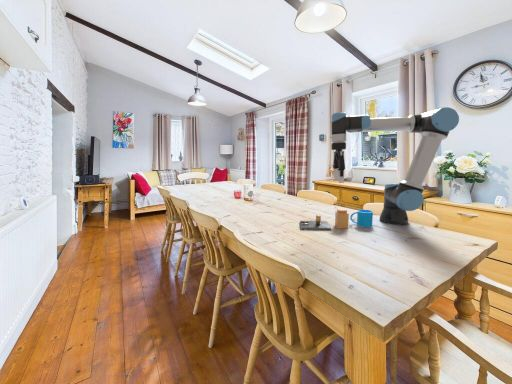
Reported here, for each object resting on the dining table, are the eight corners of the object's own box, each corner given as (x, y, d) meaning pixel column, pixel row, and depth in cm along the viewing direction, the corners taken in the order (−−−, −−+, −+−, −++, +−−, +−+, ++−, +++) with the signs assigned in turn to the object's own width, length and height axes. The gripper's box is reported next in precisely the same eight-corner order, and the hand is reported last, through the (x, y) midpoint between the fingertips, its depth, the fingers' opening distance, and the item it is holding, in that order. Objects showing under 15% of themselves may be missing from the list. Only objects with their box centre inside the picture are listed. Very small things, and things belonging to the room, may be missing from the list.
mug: (371, 223, 145) (371, 209, 143) (373, 227, 137) (374, 213, 136) (349, 222, 148) (350, 209, 147) (350, 225, 140) (351, 212, 139)
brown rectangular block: (345, 225, 142) (346, 208, 140) (348, 228, 136) (348, 210, 134) (335, 225, 143) (335, 208, 141) (337, 228, 137) (337, 210, 135)
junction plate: (327, 222, 147) (327, 212, 146) (330, 230, 133) (331, 219, 132) (300, 222, 149) (300, 212, 148) (301, 229, 135) (301, 218, 134)
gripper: (327, 143, 145) (328, 179, 148) (335, 141, 120) (335, 184, 124) (341, 142, 144) (341, 178, 147) (351, 140, 119) (351, 183, 123)
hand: (338, 181), depth 135 cm, fingers open, 13 cm apart
